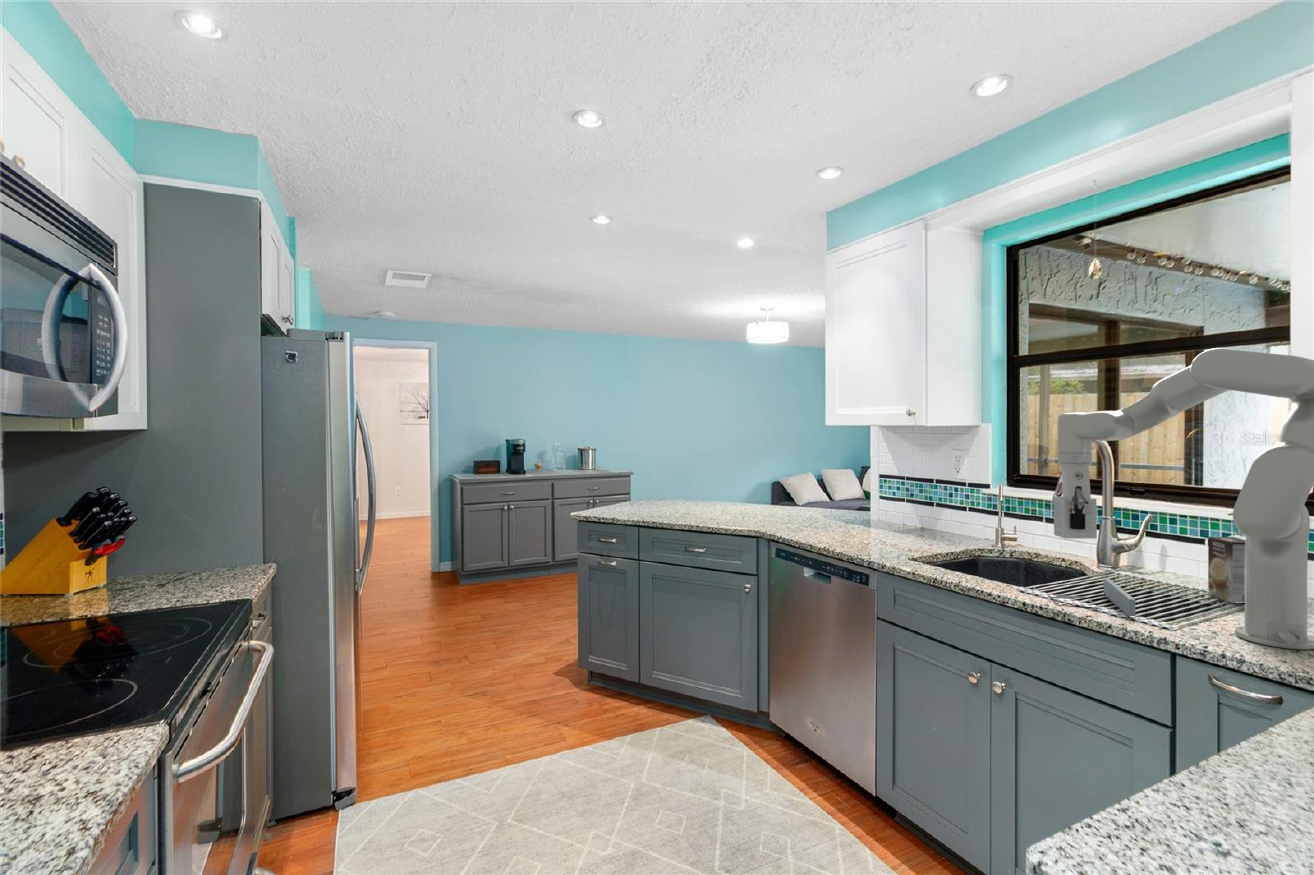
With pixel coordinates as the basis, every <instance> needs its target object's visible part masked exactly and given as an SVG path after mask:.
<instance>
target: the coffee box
mask: <svg viewBox="0 0 1314 875" xmlns="http://www.w3.org/2000/svg"><path fill="white" fill-rule="evenodd" d="M1207 537H1208V538H1207V541H1208V545H1207V546H1208V549H1207V550H1208V552H1207V553H1208V555H1207V556H1208V559H1207V563H1208V564H1207V565H1208V566H1207V567H1208V568H1207V572H1208V573H1207V578H1208V580H1207V582H1208V584H1207V586H1208V587H1207V588H1208V589H1207V590H1208V591H1207V594H1209V596H1210V597H1214V598H1216V599H1218V598H1219V600H1222V601H1223V602H1227V603H1229V602H1231V603H1230V604H1233V602H1234V603H1235V602H1242V603H1243V602H1245V579H1244V568H1245V540H1246V539H1242V538H1239V537H1234V536H1207Z"/></svg>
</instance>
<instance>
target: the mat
mask: <svg viewBox="0 0 1314 875" xmlns="http://www.w3.org/2000/svg"><path fill="white" fill-rule="evenodd" d="M1052 598H1089V597H1088V596H1079V595H1068V594H1066V595H1065V594H1057V597H1052ZM1052 598H1051V599H1052ZM1053 600H1054V601H1053ZM1053 600H1052V601H1053V603H1055V602H1062V601H1058V600H1055V599H1053ZM1089 602H1093V600H1091V598H1089ZM1056 604H1059V603H1056ZM1056 604H1055V605H1056ZM1062 605H1067V604H1062ZM1073 606H1074V605H1073ZM1073 606H1072V607H1073Z"/></svg>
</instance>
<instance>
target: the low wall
mask: <svg viewBox="0 0 1314 875" xmlns="http://www.w3.org/2000/svg"><path fill="white" fill-rule="evenodd" d="M1104 594H1105V595H1106V596H1105V595H1104ZM1103 595H1104V596H1105V597H1106V598H1107V599H1108V598H1109V599H1110V600H1109V599H1108V600H1109V601H1110V602H1112V603H1113V604H1114V605H1115V606H1116V607H1117V608H1118V607H1119V608H1120V609H1121V610H1122V611H1123V612H1125V613H1126V614H1127V615H1128V616H1135V617H1136V598H1134V597H1132V595H1130V594H1129V593H1127V591H1125V590H1124V589H1123V588H1122V587H1121V586H1120V585H1118V584H1117V583H1116V582H1114V581H1113V580H1111V578H1108V577H1103ZM1119 608H1118V609H1119ZM1120 609H1119V610H1120ZM1121 610H1120V611H1121ZM1122 611H1121V612H1122ZM1123 612H1122V613H1123ZM1125 613H1124V614H1125ZM1126 614H1125V615H1126ZM1127 615H1126V616H1127ZM1128 616H1127V617H1128Z"/></svg>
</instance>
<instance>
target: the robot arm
mask: <svg viewBox="0 0 1314 875" xmlns="http://www.w3.org/2000/svg"><path fill="white" fill-rule="evenodd" d="M1228 391H1233V392H1234V391H1235V392H1241V393H1248V394H1255V395H1263V396H1270V397H1275V398H1283V399H1289V400H1290V401H1291V409H1290V411H1289V413H1288V415H1287V417H1286V419H1285V421H1284V423H1283V425H1282V429H1281V431H1280V433H1279V435H1278V437H1277V440H1276V441H1275V444H1274V445H1273V446H1270V447H1268V448H1266V449H1264V450H1263V451H1262V452H1260V453H1259V454H1258V455H1257V456H1256V457H1255V459H1254V461H1253V462H1252V464H1251V466H1250V467H1249V470H1248V473H1247V475H1246V477H1245V480H1244V483H1243V485H1242V487H1241V490H1240V491H1239V495H1238V497H1237V500H1236V501H1235V503H1234V506H1233V511H1232V520H1233V523H1234V525H1235V527H1236V529H1237V530H1239V532H1240V533H1242V535H1244V536H1245V539H1244V540H1245V568H1244V579H1245V604H1244V625H1241V626H1237V627H1235V628H1234V633H1235V635H1236V636H1237V637H1239V638H1241V639H1243V640H1246V641H1248V642H1252V643H1257V644H1259V645H1265V646H1269V647H1275V648H1283V649H1288V650H1289V649H1290V650H1314V637H1312V636H1309V635H1308V562H1309V560H1308V559H1309V558H1308V552H1309V551H1308V550H1309V540H1310V539H1309V537H1310V527H1311V526H1310V525H1311V521H1310V520H1311V519H1310V514H1309V513H1310V512H1309V511H1308V508H1307V507H1306V505H1305V504H1306V503H1307V499H1308V498H1309V495H1310V492H1311V491H1312V488H1313V487H1314V359H1310V358H1306V357H1301V356H1296V355H1292V354H1291V355H1290V354H1278V353H1268V352H1267V353H1266V352H1258V351H1248V350H1240V349H1232V348H1226V347H1216V348H1210V349H1207V350H1205V351H1203V352H1201V353H1199V354H1198V355H1196V357H1195V358H1194V359H1193V360H1192V362H1191V365H1189V366H1187V367H1185V368H1183V369H1180V370H1179V371H1177V372H1175V373H1172V374H1171V375H1169V376H1167V377H1164V378H1162V379H1161V380H1158V381H1157V382H1155V384H1154V385H1153V386H1152V388H1151V390H1150V392H1148V393H1147V394H1146V395H1145V396H1144V397H1142V398H1141V399H1138V400H1137V401H1134V402H1132V403H1131V404H1129V405H1127V406H1125V407H1123V408H1119V409H1118V410H1108V411H1107V410H1104V411H1103V410H1101V411H1094V412H1087V413H1086V412H1067V413H1061V414H1059V416H1058V417H1057V465H1058V466H1062V471H1061V474H1062V476H1061V477H1062V478H1061V479H1062V480H1061V487H1062V488H1061V490H1062V493H1061V495H1062V497H1066V498H1067V499H1068V502H1069V503H1071V512H1072V513H1070V528H1071V529H1080V530H1084V529H1085V508H1084V501H1086V502H1087V504H1089V503H1090V502H1091V498H1092V497H1091V482H1090V478H1091V477H1090V469H1089V467H1090V466H1093V441H1100V442H1108V441H1109V442H1110V441H1123V440H1126V439H1129V438H1132V437H1134V436H1137V435H1138V434H1139V435H1140V434H1141V433H1143V432H1145V431H1148V430H1151V429H1152V428H1155V427H1156V426H1158V425H1160V424H1162V423H1163V422H1166V421H1167V420H1169V419H1171V418H1174V417H1175V416H1177V415H1179V414H1180V413H1182V412H1184V411H1186V410H1188V409H1190V408H1192V407H1195V406H1197V405H1199V404H1202V403H1204V402H1206V401H1208V400H1210V399H1213V398H1215V397H1217V396H1219V395H1222V394H1223V393H1226V392H1228ZM1073 499H1074V500H1077V502H1075V501H1073ZM1084 499H1085V500H1084ZM1074 507H1075V508H1074Z"/></svg>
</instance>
